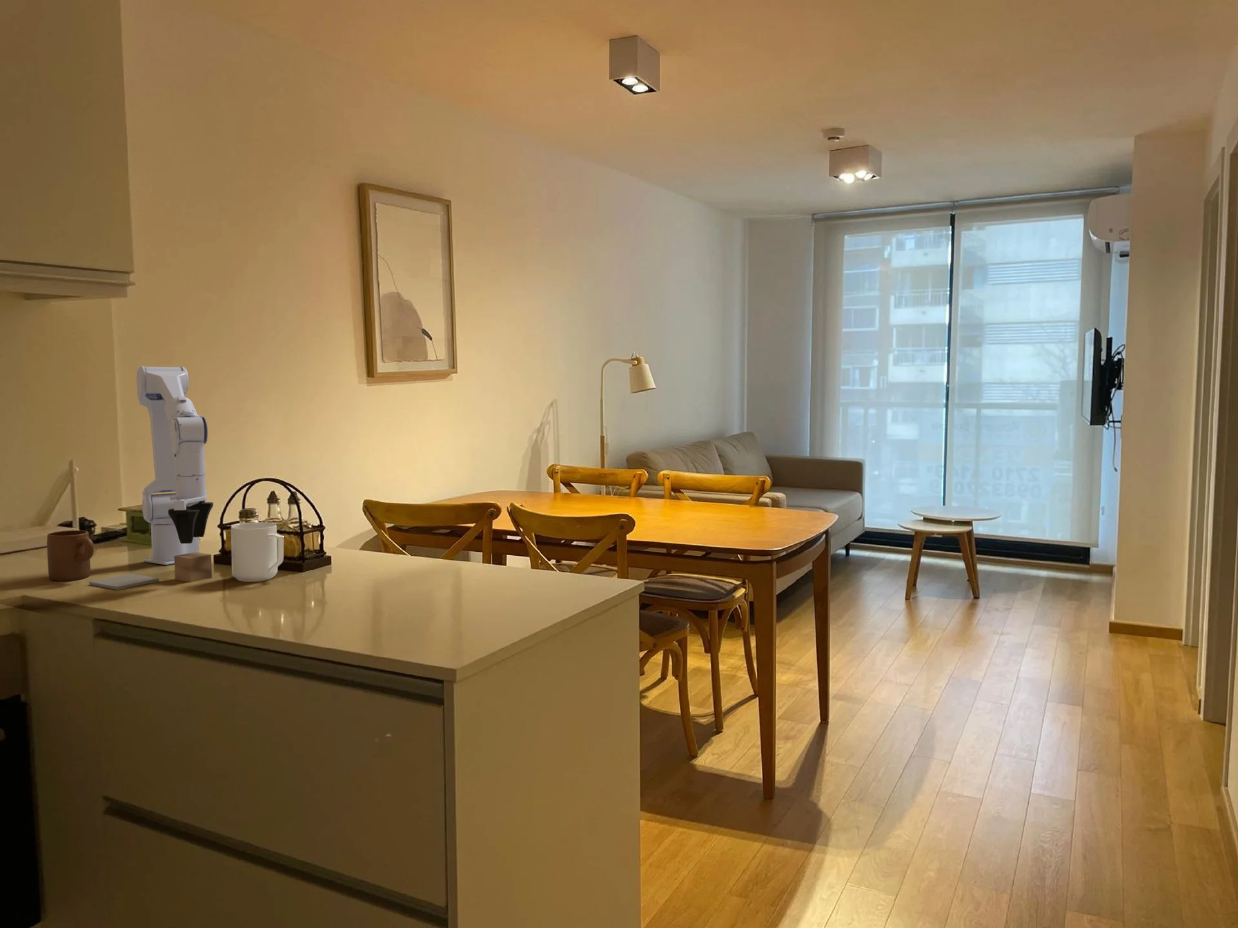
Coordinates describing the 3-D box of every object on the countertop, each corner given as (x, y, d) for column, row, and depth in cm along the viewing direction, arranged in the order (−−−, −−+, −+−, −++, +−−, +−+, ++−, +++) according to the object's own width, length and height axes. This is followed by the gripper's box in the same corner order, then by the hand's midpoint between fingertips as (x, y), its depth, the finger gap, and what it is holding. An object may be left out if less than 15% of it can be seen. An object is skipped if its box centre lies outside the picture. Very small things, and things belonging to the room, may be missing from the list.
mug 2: (222, 579, 192) (221, 527, 191) (255, 571, 200) (254, 521, 199) (266, 585, 187) (265, 531, 186) (298, 577, 195) (297, 525, 194)
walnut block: (196, 575, 197) (195, 552, 196) (211, 577, 194) (211, 554, 194) (175, 579, 192) (174, 555, 192) (190, 582, 190) (190, 558, 189)
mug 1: (111, 578, 192) (109, 534, 191) (74, 585, 185) (72, 539, 184) (77, 572, 198) (75, 528, 197) (40, 578, 191) (38, 533, 190)
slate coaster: (131, 576, 194) (131, 573, 194) (158, 581, 190) (158, 578, 190) (89, 584, 186) (89, 581, 186) (117, 589, 182) (117, 586, 182)
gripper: (181, 471, 198) (183, 534, 199) (157, 478, 184) (159, 546, 185) (216, 471, 199) (218, 534, 200) (194, 478, 184) (196, 545, 186)
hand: (192, 540), depth 192 cm, fingers open, 7 cm apart
